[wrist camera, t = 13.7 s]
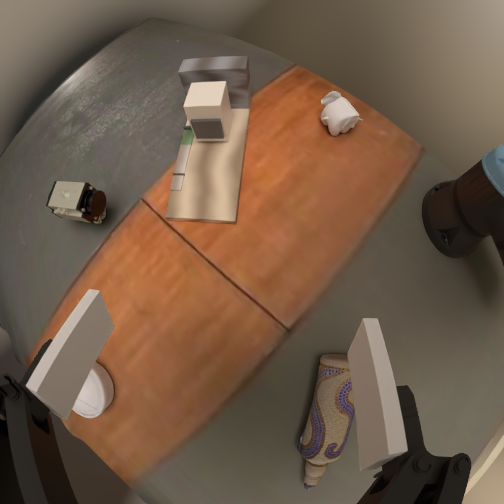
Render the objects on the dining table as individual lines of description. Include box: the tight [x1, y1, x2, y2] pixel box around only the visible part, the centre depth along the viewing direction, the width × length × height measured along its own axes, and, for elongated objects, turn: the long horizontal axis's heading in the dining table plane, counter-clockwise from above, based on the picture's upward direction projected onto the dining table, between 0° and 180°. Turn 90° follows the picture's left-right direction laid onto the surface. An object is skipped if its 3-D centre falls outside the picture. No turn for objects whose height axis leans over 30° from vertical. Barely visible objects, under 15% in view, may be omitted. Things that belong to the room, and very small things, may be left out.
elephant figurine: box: [321, 91, 363, 136], centre depth 45 cm, size 8×10×7 cm
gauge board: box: [166, 56, 252, 224], centre depth 42 cm, size 12×28×12 cm, turn 175°
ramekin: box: [72, 362, 114, 418], centre depth 37 cm, size 11×11×5 cm
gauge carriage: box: [183, 81, 233, 141], centre depth 43 cm, size 9×8×10 cm
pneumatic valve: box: [46, 181, 106, 224], centre depth 41 cm, size 6×12×12 cm, turn 79°
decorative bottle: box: [297, 354, 355, 490], centre depth 34 cm, size 26×8×7 cm, turn 170°
